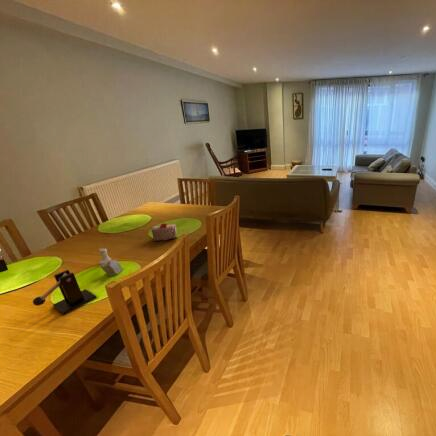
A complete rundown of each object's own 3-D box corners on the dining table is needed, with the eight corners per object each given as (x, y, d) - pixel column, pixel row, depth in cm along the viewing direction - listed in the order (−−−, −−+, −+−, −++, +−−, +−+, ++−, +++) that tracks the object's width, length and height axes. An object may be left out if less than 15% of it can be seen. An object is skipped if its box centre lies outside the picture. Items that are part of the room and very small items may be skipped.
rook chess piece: (101, 265, 123) (96, 252, 120) (102, 261, 126) (97, 248, 123) (111, 263, 125) (107, 249, 122) (112, 259, 129) (108, 246, 126)
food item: (178, 234, 157) (175, 220, 153) (177, 239, 150) (174, 225, 146) (155, 237, 153) (152, 223, 149) (153, 242, 146) (149, 228, 142)
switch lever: (40, 308, 87) (32, 304, 85) (37, 305, 89) (28, 301, 87) (74, 278, 95) (67, 274, 92) (70, 275, 96) (63, 271, 94)
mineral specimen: (100, 272, 116) (100, 257, 115) (122, 270, 121) (122, 255, 119) (98, 279, 110) (97, 264, 108) (120, 277, 115) (120, 262, 113)
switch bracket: (63, 315, 92) (50, 285, 86) (53, 306, 96) (40, 278, 90) (96, 297, 100) (86, 270, 95) (86, 291, 105) (75, 264, 99)
